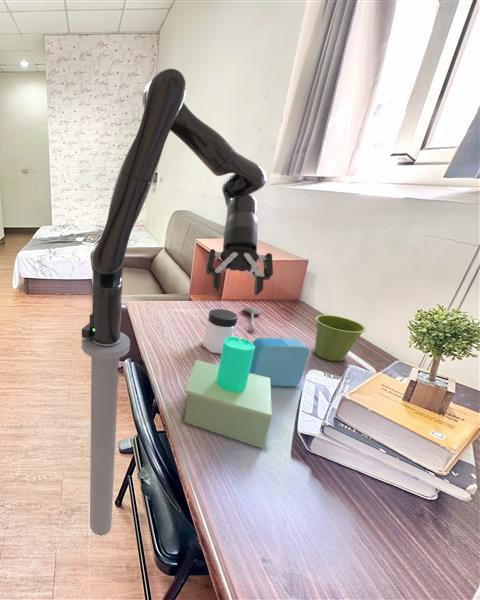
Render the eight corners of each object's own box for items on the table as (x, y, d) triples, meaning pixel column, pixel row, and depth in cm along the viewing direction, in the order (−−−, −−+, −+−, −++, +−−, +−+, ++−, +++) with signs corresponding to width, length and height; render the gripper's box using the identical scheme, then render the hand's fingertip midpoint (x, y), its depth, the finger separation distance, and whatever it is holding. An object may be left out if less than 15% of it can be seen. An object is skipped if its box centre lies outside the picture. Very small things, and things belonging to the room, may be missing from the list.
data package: (289, 376, 86) (300, 338, 81) (299, 387, 81) (311, 347, 77) (245, 375, 86) (253, 337, 82) (252, 385, 82) (261, 345, 78)
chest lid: (184, 393, 68) (185, 390, 67) (195, 362, 79) (195, 359, 78) (271, 418, 60) (271, 415, 60) (269, 380, 71) (270, 378, 71)
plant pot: (359, 370, 88) (373, 335, 84) (309, 360, 93) (320, 327, 89) (346, 350, 98) (358, 318, 94) (302, 343, 103) (311, 312, 99)
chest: (184, 422, 70) (188, 394, 67) (194, 388, 81) (198, 363, 78) (262, 448, 63) (271, 418, 60) (262, 407, 74) (269, 381, 71)
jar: (224, 357, 95) (231, 322, 90) (199, 348, 100) (204, 314, 96) (235, 347, 101) (242, 313, 96) (210, 338, 106) (216, 306, 102)
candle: (244, 396, 65) (255, 346, 61) (214, 386, 68) (222, 338, 64) (247, 381, 70) (257, 334, 66) (218, 373, 73) (227, 327, 68)
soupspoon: (260, 313, 127) (242, 311, 130) (261, 305, 126) (243, 303, 129) (261, 333, 109) (240, 330, 112) (262, 325, 108) (241, 322, 111)
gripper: (212, 223, 77) (206, 281, 72) (277, 226, 73) (276, 288, 67) (208, 240, 84) (202, 294, 78) (267, 244, 80) (266, 301, 74)
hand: (236, 291), depth 73 cm, fingers open, 8 cm apart
